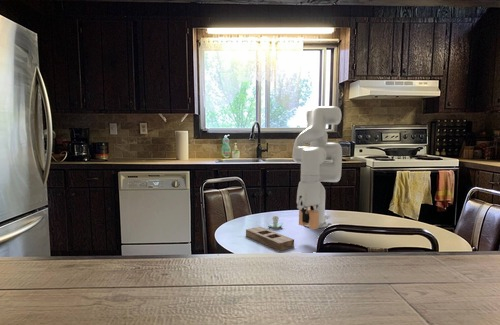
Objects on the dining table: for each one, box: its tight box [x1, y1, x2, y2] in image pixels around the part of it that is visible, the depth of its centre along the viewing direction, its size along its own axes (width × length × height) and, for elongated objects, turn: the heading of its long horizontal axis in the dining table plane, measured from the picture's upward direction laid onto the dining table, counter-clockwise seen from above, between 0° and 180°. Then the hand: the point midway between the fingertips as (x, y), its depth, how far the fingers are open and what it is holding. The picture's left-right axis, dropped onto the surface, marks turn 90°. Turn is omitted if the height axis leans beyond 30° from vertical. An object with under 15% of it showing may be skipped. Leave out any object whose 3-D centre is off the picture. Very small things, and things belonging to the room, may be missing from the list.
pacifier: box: [267, 215, 284, 229], centre depth 161 cm, size 7×6×6 cm
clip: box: [298, 208, 320, 231], centre depth 139 cm, size 3×8×7 cm, turn 37°
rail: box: [245, 226, 295, 251], centre depth 141 cm, size 8×22×3 cm, turn 37°
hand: (308, 221), depth 139 cm, fingers closed on clip, 3 cm apart
